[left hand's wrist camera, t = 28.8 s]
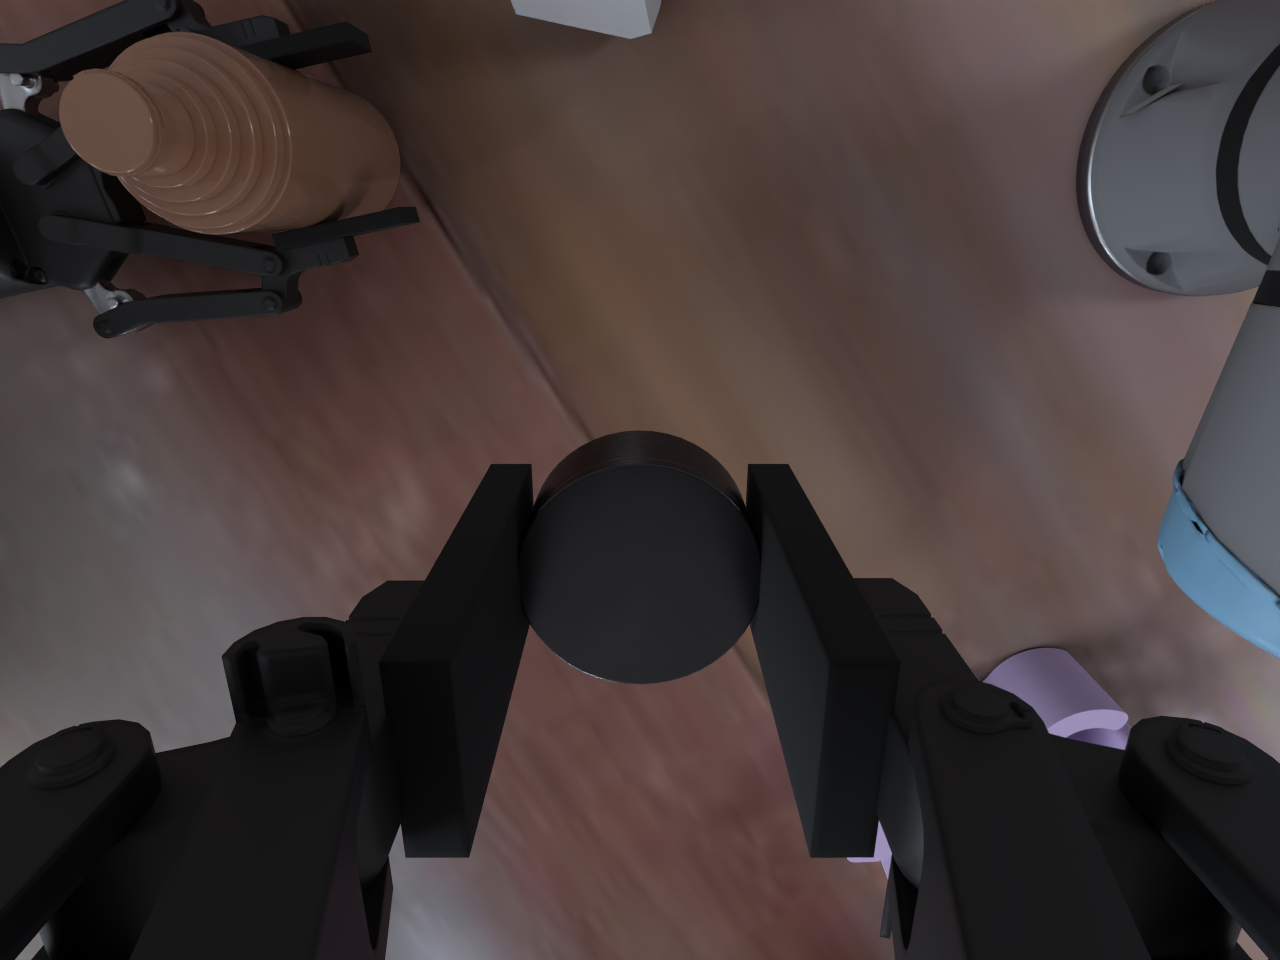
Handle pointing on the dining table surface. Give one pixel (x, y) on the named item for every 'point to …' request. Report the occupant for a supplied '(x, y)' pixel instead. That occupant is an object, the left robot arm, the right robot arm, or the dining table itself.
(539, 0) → the electronic device
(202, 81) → the bottle
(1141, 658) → the dining table surface
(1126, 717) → the clip
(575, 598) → the cap
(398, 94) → the dining table surface
